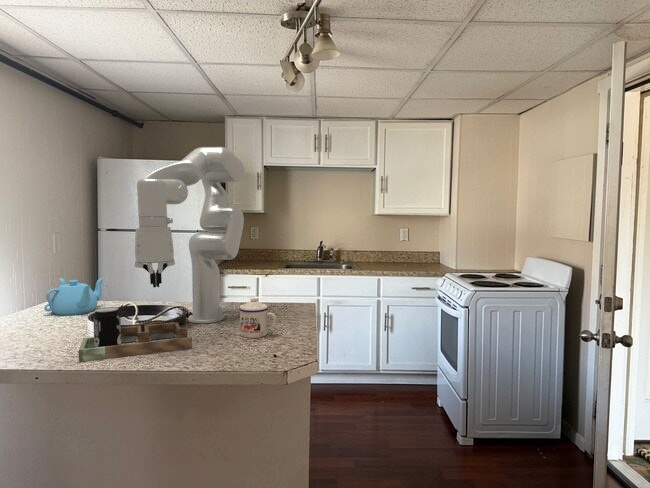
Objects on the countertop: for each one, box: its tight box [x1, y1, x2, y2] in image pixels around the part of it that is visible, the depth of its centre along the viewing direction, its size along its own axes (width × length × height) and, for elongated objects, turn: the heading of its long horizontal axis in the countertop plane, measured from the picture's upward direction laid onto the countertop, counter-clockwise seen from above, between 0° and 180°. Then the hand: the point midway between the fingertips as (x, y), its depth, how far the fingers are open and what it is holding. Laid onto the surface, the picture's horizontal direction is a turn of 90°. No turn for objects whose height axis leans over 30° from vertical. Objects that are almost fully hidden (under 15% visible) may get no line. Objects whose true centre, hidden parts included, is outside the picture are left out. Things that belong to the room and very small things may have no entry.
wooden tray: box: [78, 321, 193, 363], centre depth 123 cm, size 28×20×3 cm
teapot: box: [43, 277, 106, 316], centre depth 163 cm, size 17×19×12 cm
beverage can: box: [92, 306, 122, 348], centre depth 116 cm, size 7×7×12 cm
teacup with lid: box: [238, 297, 277, 339], centre depth 134 cm, size 12×9×12 cm
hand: (156, 286), depth 121 cm, fingers closed
